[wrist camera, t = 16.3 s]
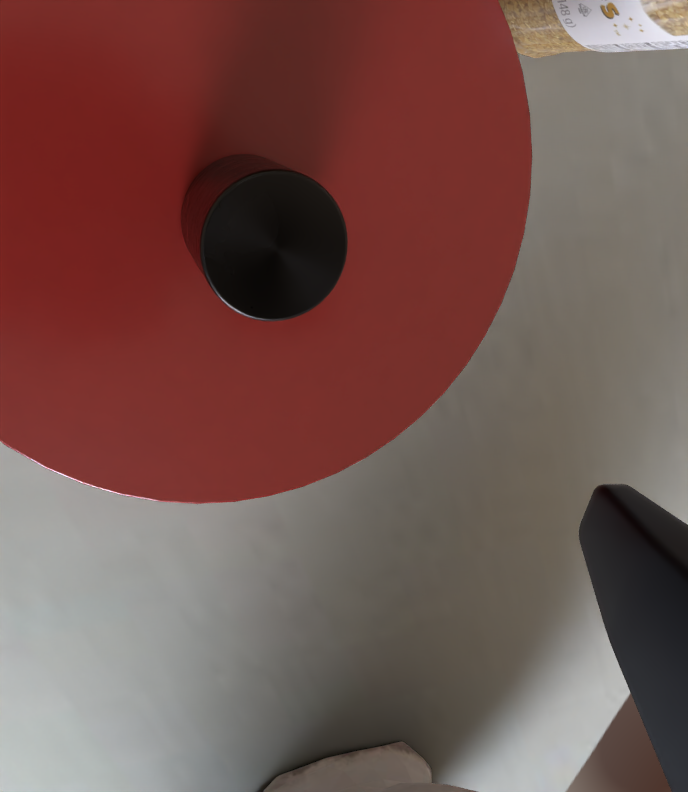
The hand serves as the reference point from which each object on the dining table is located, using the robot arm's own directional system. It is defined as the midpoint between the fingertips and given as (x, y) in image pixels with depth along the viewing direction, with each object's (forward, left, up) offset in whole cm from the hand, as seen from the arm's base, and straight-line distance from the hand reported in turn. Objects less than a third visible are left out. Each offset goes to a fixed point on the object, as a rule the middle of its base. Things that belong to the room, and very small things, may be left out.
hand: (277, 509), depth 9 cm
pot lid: (+2, +2, -6) cm, 6 cm away
